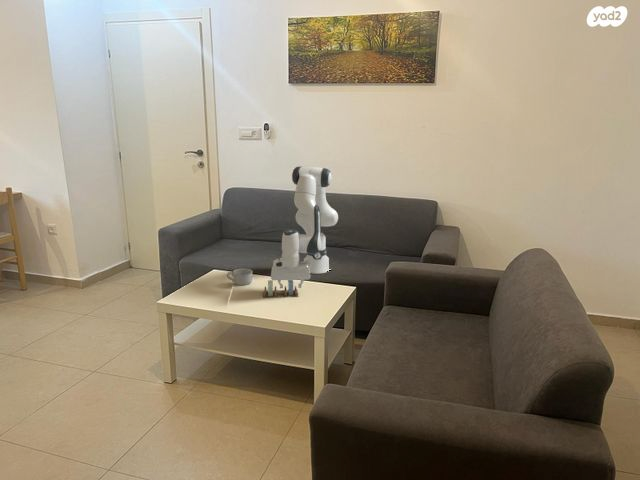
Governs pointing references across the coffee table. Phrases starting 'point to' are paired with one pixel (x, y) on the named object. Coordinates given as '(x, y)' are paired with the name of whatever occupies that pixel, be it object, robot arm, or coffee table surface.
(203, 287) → the coffee table surface
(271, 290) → the sage plate
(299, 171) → the robot arm
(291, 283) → the blue plate
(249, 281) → the teacup
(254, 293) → the coffee table surface
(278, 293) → the rack
